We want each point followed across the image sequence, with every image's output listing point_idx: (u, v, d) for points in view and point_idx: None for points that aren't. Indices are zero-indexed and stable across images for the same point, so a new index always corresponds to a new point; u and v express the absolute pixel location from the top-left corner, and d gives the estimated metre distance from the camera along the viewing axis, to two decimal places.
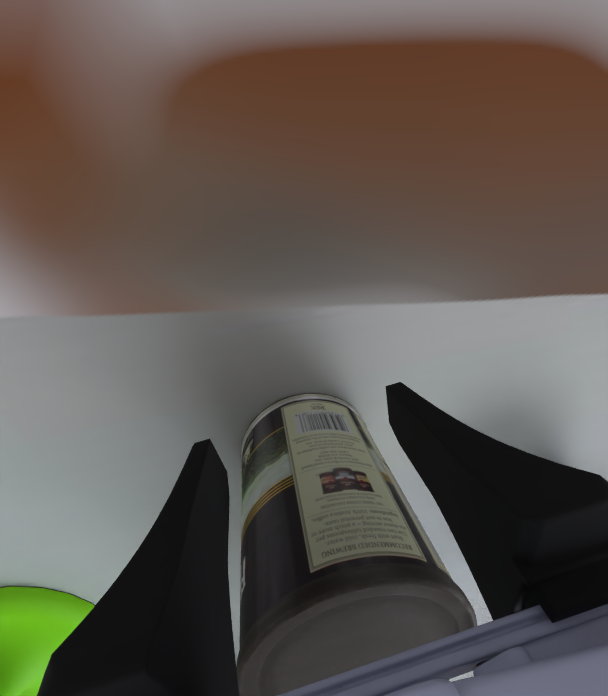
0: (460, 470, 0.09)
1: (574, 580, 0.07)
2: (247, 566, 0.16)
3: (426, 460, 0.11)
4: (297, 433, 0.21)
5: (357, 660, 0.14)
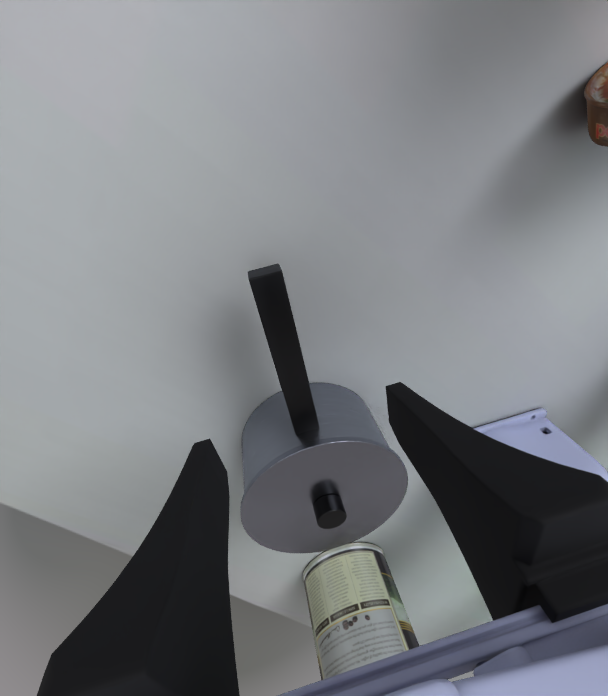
0: (460, 470, 0.09)
1: (574, 580, 0.07)
2: None
3: (426, 460, 0.11)
4: None
5: None
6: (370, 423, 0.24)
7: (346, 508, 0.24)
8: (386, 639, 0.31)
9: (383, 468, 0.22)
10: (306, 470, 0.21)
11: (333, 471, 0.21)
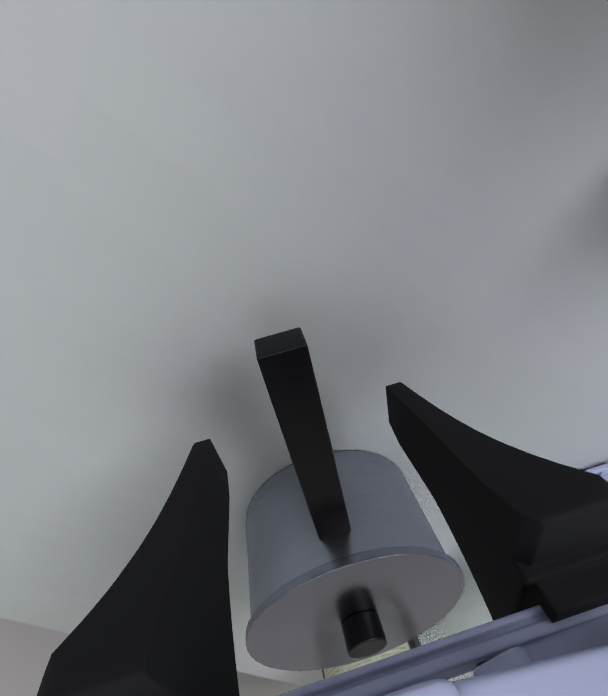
0: (460, 470, 0.09)
1: (574, 580, 0.07)
2: None
3: (426, 460, 0.11)
4: None
5: None
6: (413, 510, 0.18)
7: (383, 621, 0.18)
8: None
9: (435, 578, 0.17)
10: (334, 591, 0.15)
11: (370, 588, 0.16)
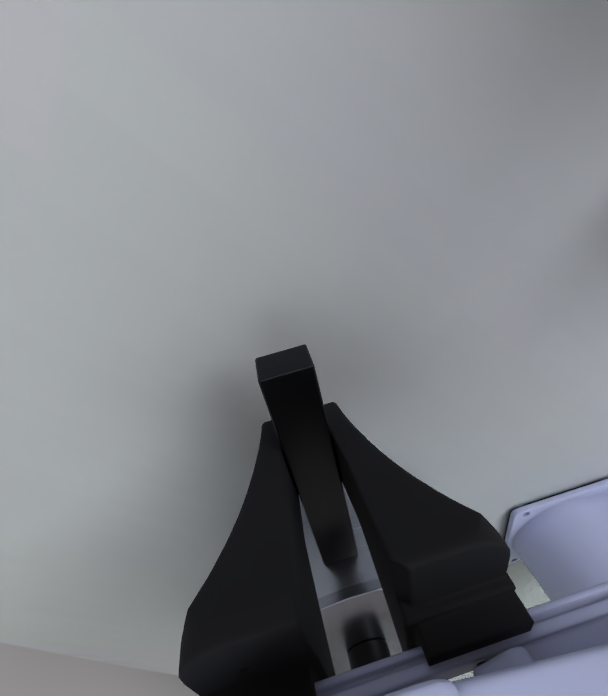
0: (362, 501, 0.09)
1: (453, 622, 0.07)
2: None
3: (348, 484, 0.11)
4: None
5: None
6: None
7: (391, 648, 0.17)
8: None
9: None
10: (341, 621, 0.14)
11: (379, 617, 0.15)
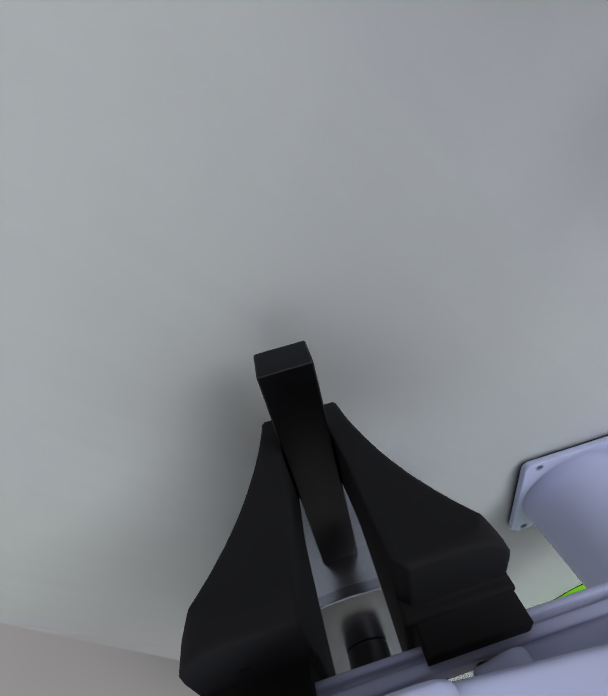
0: (361, 501, 0.09)
1: (452, 622, 0.07)
2: None
3: (348, 484, 0.11)
4: None
5: None
6: None
7: (391, 648, 0.17)
8: None
9: None
10: (341, 621, 0.14)
11: (379, 616, 0.15)
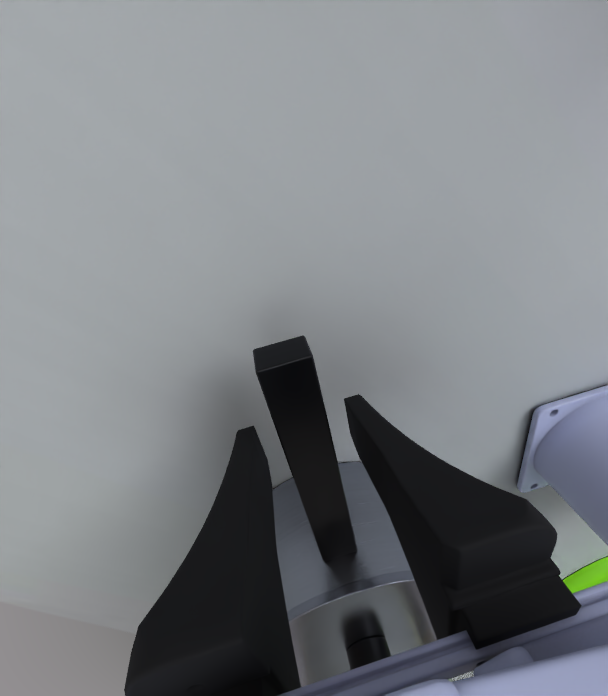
0: (399, 489, 0.09)
1: (499, 606, 0.07)
2: None
3: (378, 475, 0.11)
4: None
5: None
6: None
7: (391, 646, 0.17)
8: None
9: None
10: (340, 618, 0.14)
11: (378, 614, 0.15)
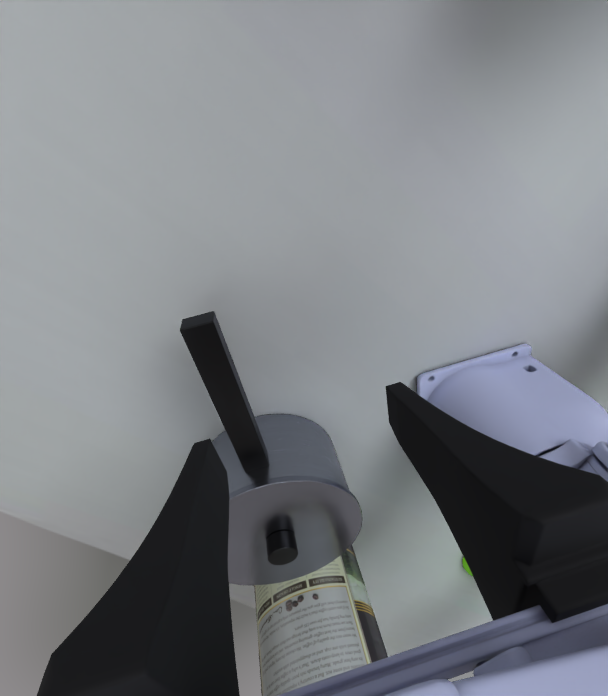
0: (460, 470, 0.09)
1: (574, 580, 0.07)
2: None
3: (426, 460, 0.11)
4: None
5: None
6: (325, 457, 0.24)
7: (301, 542, 0.24)
8: (336, 622, 0.25)
9: (335, 505, 0.22)
10: (254, 509, 0.21)
11: (283, 509, 0.21)
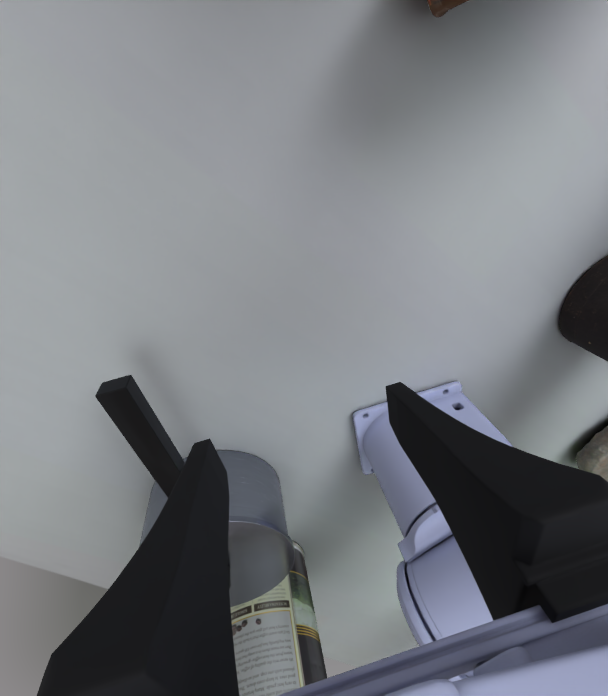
0: (460, 470, 0.09)
1: (574, 580, 0.07)
2: None
3: (426, 460, 0.11)
4: None
5: None
6: (259, 493, 0.25)
7: (237, 573, 0.25)
8: (274, 646, 0.27)
9: (265, 540, 0.24)
10: None
11: None
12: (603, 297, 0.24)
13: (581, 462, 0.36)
